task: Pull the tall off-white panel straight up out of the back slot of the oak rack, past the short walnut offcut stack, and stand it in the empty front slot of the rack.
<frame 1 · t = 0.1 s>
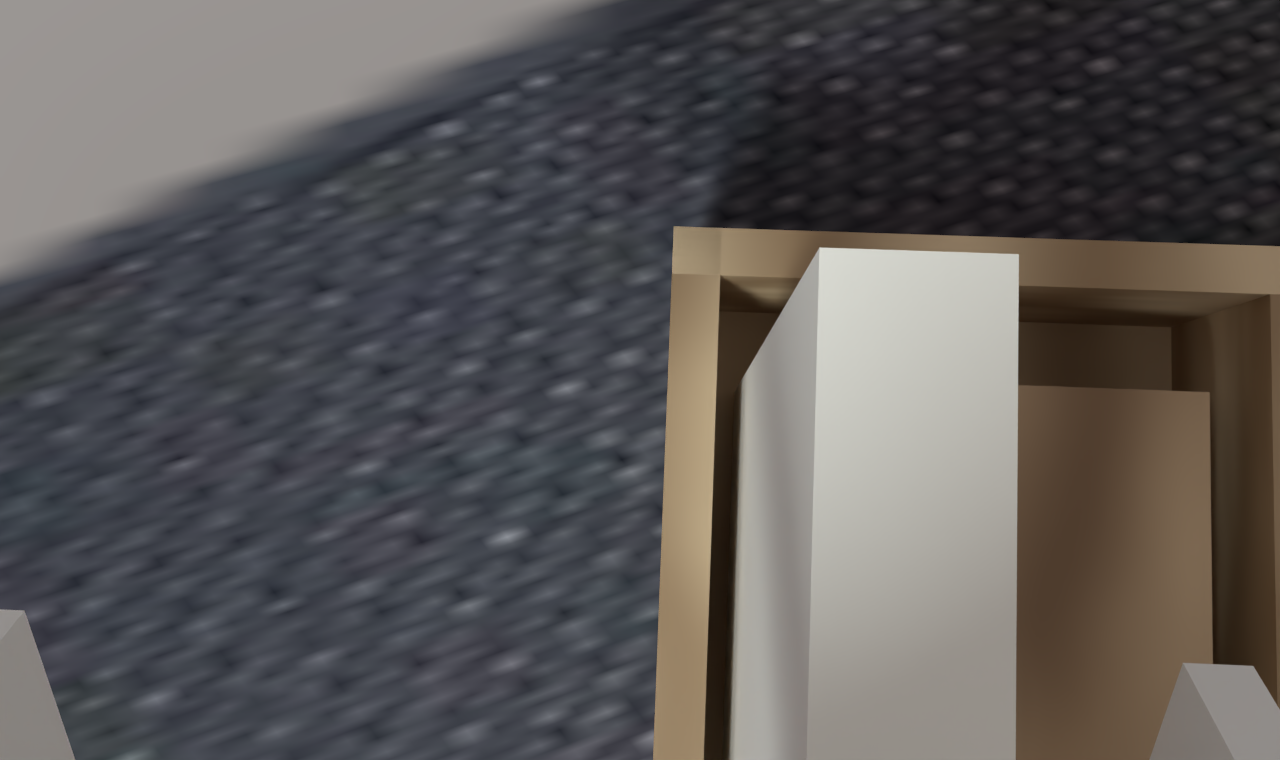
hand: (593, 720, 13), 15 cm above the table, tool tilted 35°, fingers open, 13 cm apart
upper offcut: (1053, 713, 24), point 3 cm above the table, touching lower offcut
rack: (1005, 686, 28), on the table
tall sheet: (766, 684, 26), point 1 cm above the table, touching rack
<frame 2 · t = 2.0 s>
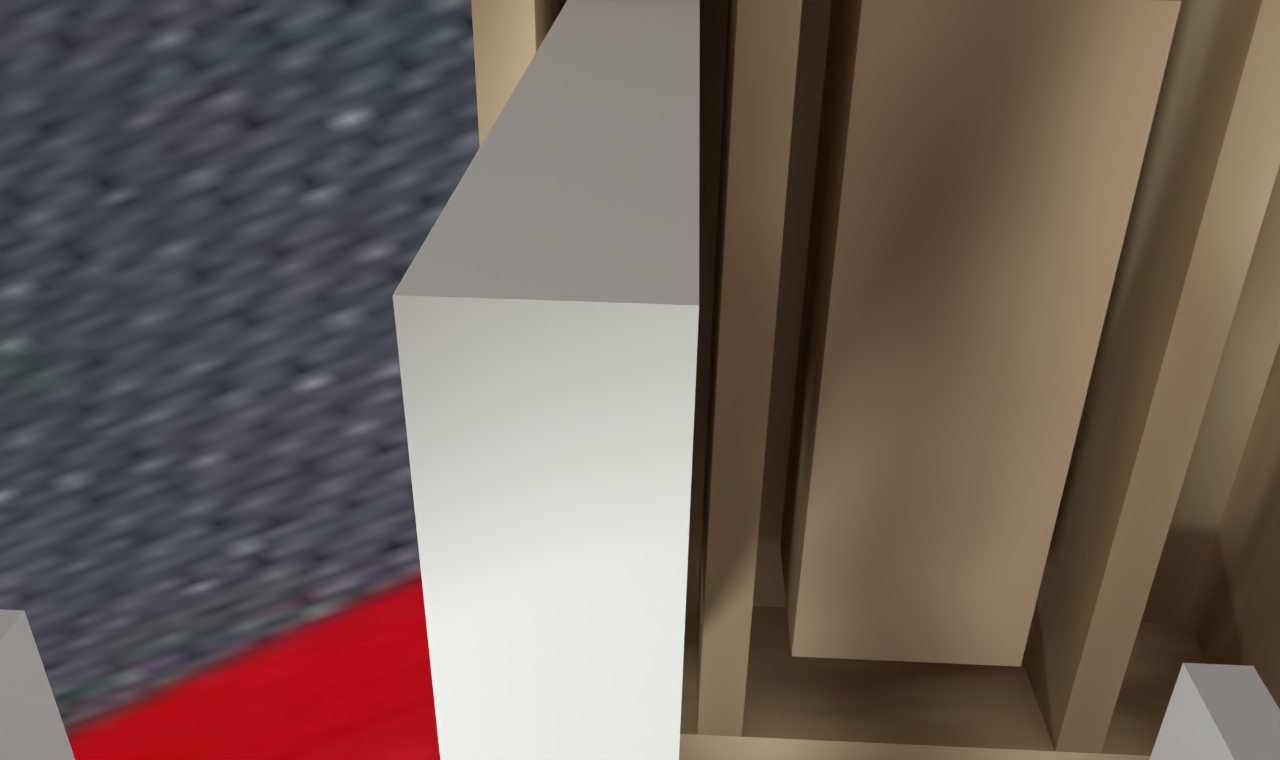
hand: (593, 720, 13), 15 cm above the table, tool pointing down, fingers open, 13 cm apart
upper offcut: (934, 335, 23), point 3 cm above the table, touching lower offcut
rack: (906, 269, 26), on the table
tall sheet: (642, 286, 25), point 1 cm above the table, touching rack
lower offcut: (917, 295, 24), point 1 cm above the table, touching rack, upper offcut
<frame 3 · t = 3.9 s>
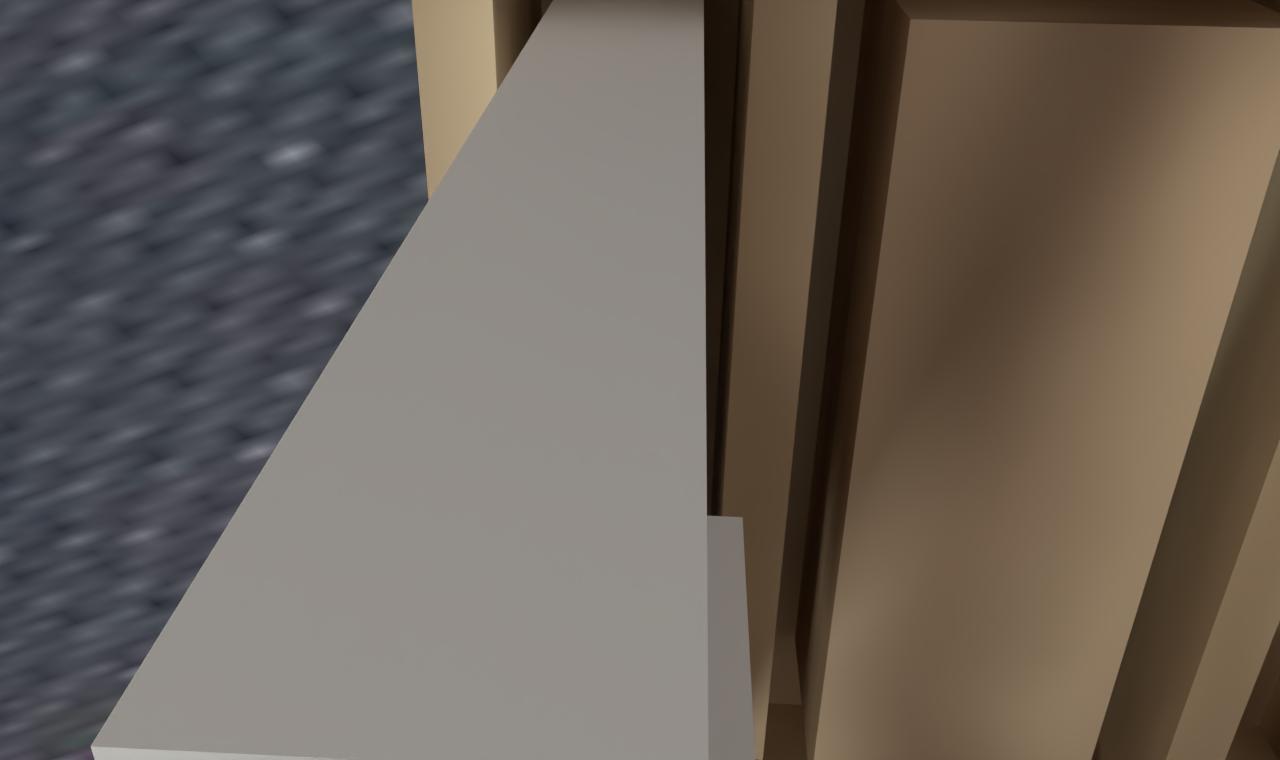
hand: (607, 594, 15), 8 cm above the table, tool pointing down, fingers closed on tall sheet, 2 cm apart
upper offcut: (982, 418, 19), point 3 cm above the table, touching lower offcut
rack: (944, 327, 22), on the table
tall sheet: (635, 351, 21), point 1 cm above the table, touching gripper, rack
lower offcut: (959, 363, 21), point 1 cm above the table, touching rack, upper offcut
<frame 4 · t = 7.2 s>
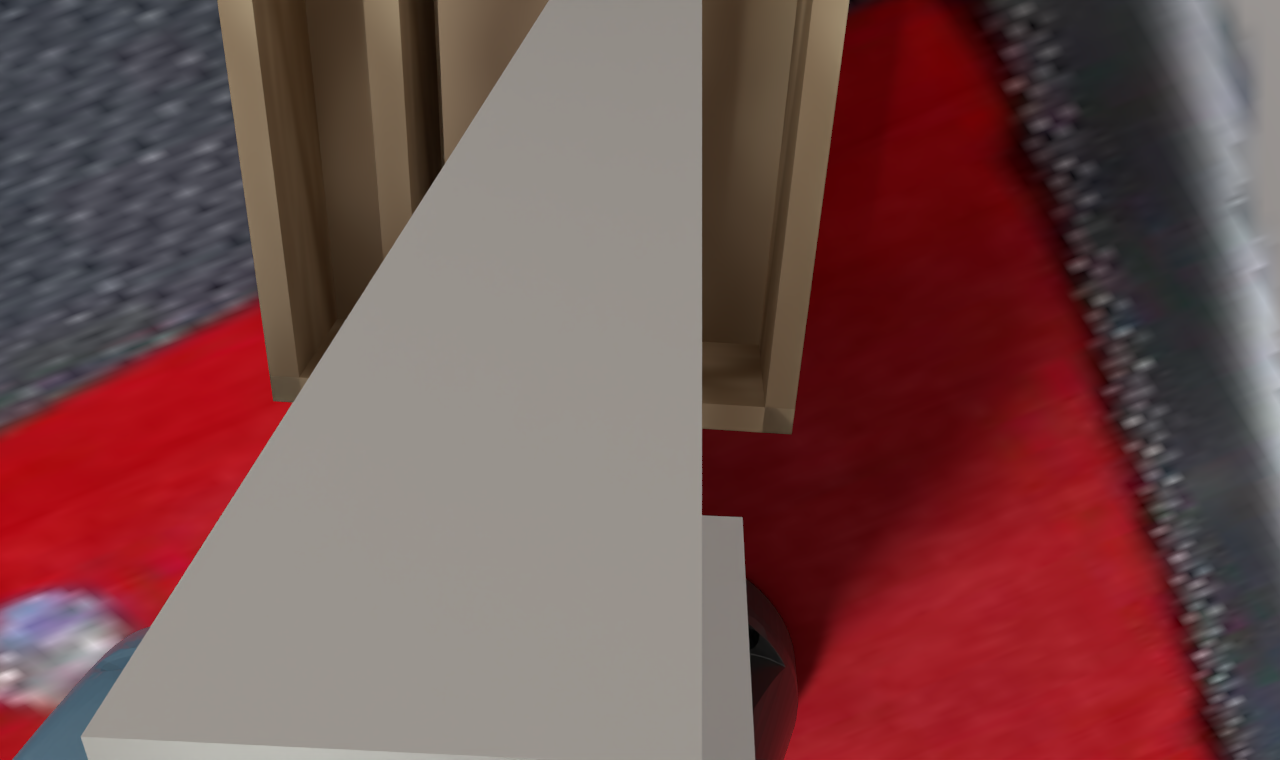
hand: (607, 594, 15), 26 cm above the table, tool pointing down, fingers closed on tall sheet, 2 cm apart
upper offcut: (534, 107, 35), point 3 cm above the table, touching lower offcut
rack: (547, 79, 38), on the table
tall sheet: (633, 349, 21), point 19 cm above the table, touching gripper
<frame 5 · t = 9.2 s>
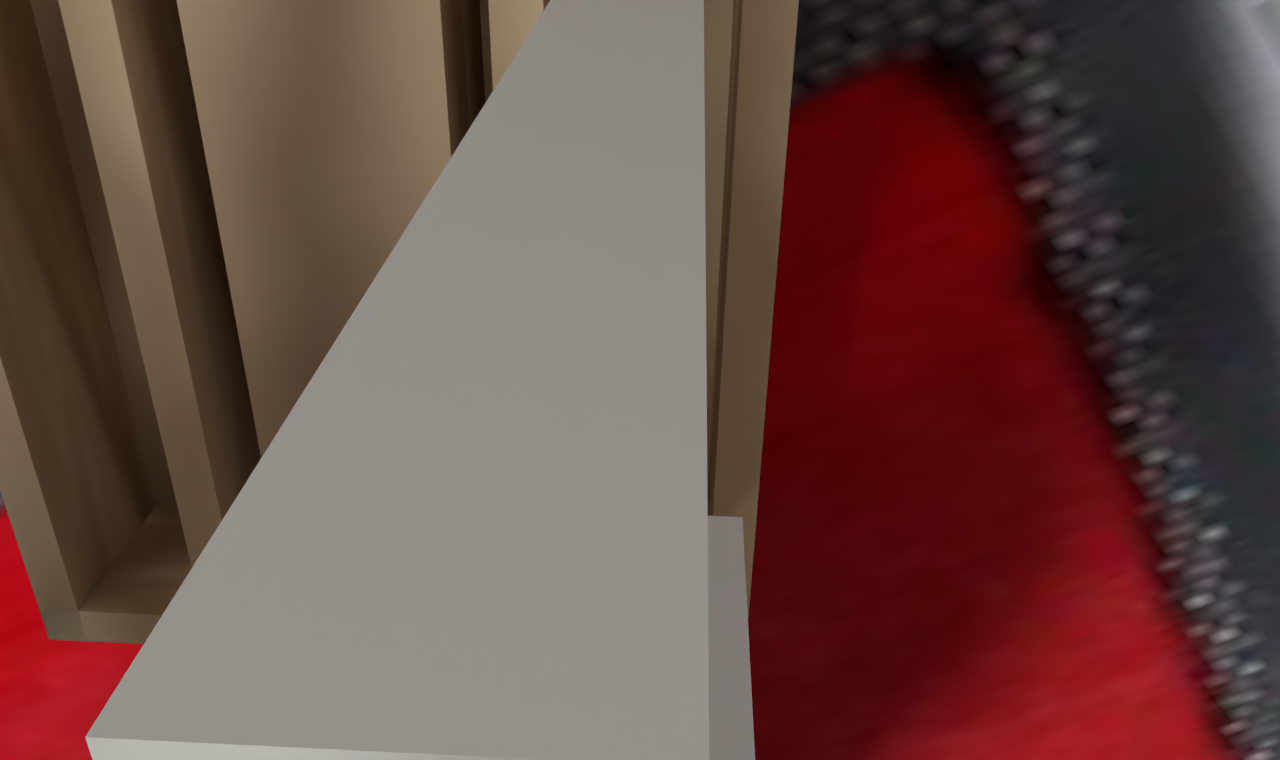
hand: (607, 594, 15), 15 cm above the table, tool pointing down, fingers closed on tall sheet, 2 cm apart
upper offcut: (368, 250, 25), point 3 cm above the table, touching lower offcut
rack: (404, 198, 28), on the table
tall sheet: (635, 349, 21), point 8 cm above the table, touching gripper
lower offcut: (390, 219, 27), point 1 cm above the table, touching rack, upper offcut
when the fingers open (10 cm above the table, at t = 10.7 s): tall sheet drops 1 cm, resting on rack.
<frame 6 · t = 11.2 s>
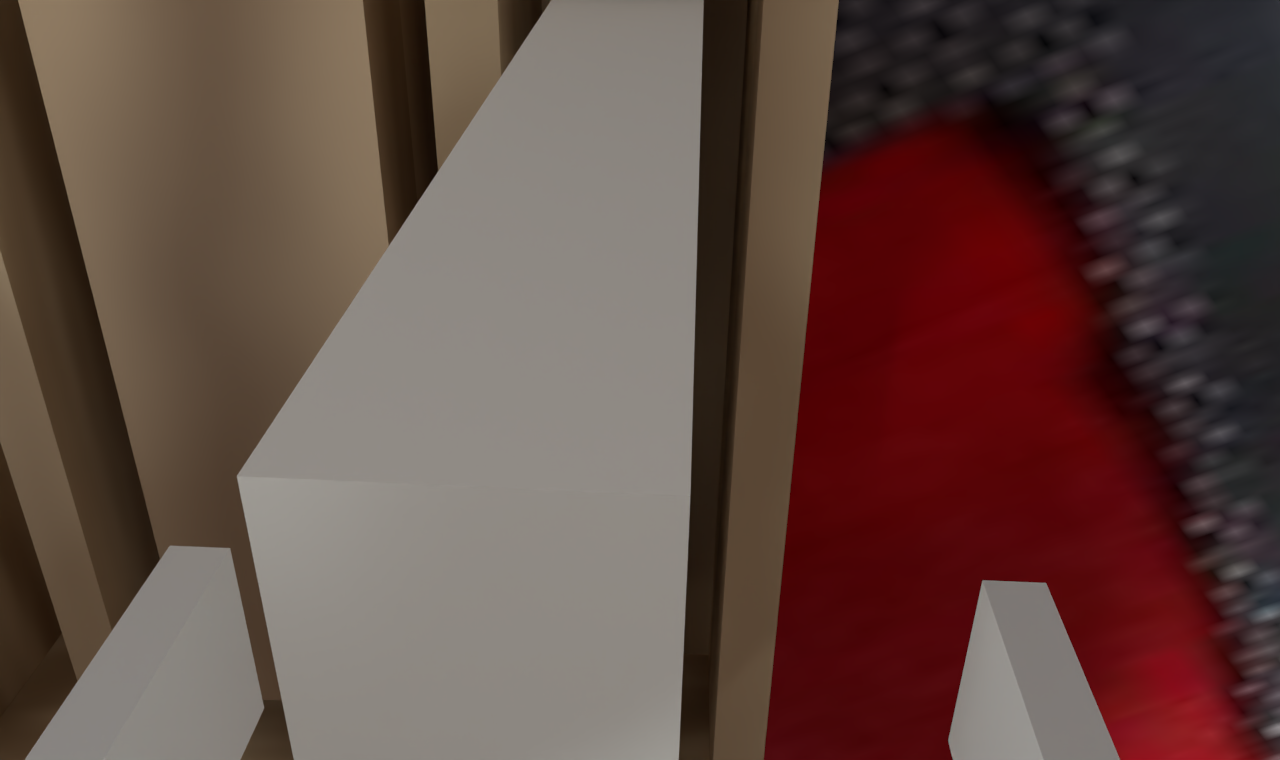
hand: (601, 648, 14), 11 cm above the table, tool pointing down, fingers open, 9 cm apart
upper offcut: (299, 352, 21), point 3 cm above the table, touching lower offcut
rack: (351, 276, 24), on the table
tall sheet: (640, 315, 22), point 2 cm above the table, touching rack
lower offcut: (330, 306, 22), point 1 cm above the table, touching rack, upper offcut
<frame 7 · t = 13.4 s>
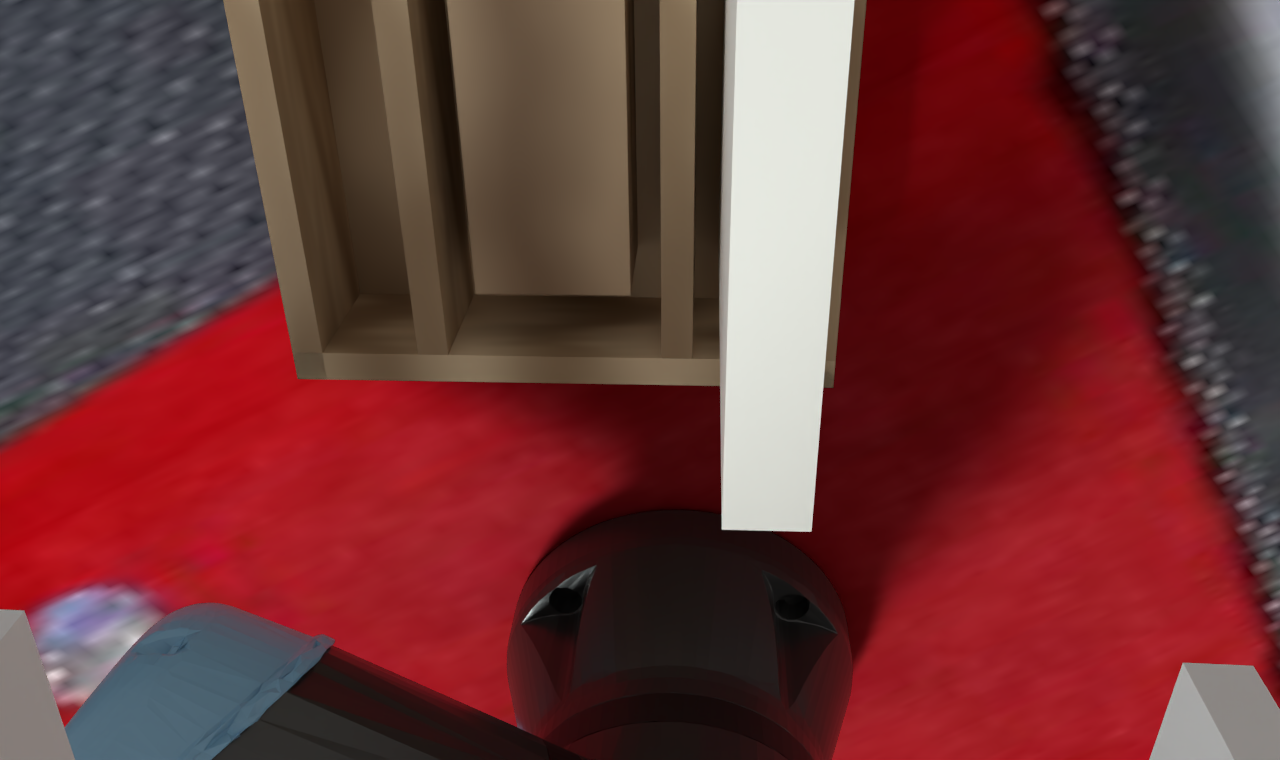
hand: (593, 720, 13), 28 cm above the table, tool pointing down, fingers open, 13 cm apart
upper offcut: (548, 58, 33), point 3 cm above the table, touching lower offcut
rack: (562, 32, 37), on the table
tall sheet: (754, 41, 35), point 1 cm above the table, touching rack
lower offcut: (556, 42, 35), point 1 cm above the table, touching rack, upper offcut
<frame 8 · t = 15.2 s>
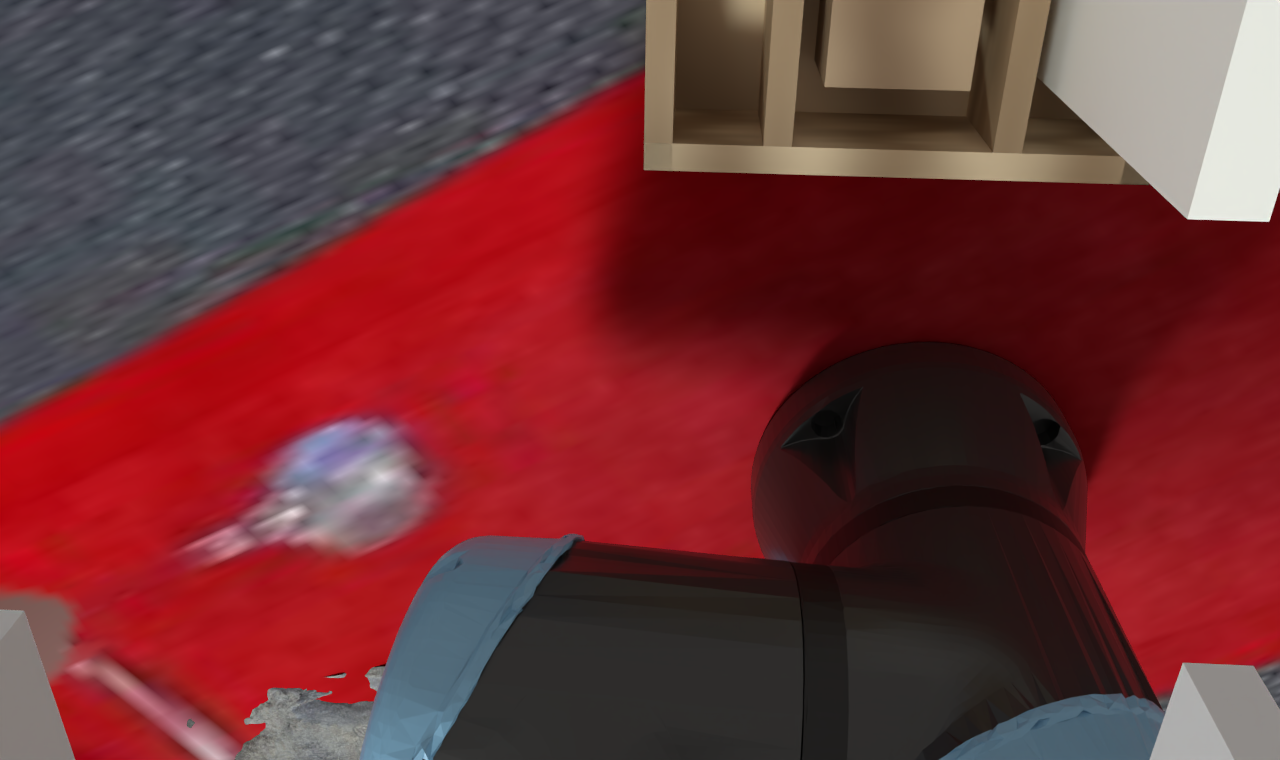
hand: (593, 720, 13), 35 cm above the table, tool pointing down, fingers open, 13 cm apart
stone slab: (342, 730, 64), on the table
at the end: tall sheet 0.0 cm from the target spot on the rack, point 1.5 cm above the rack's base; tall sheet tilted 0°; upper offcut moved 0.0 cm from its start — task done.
